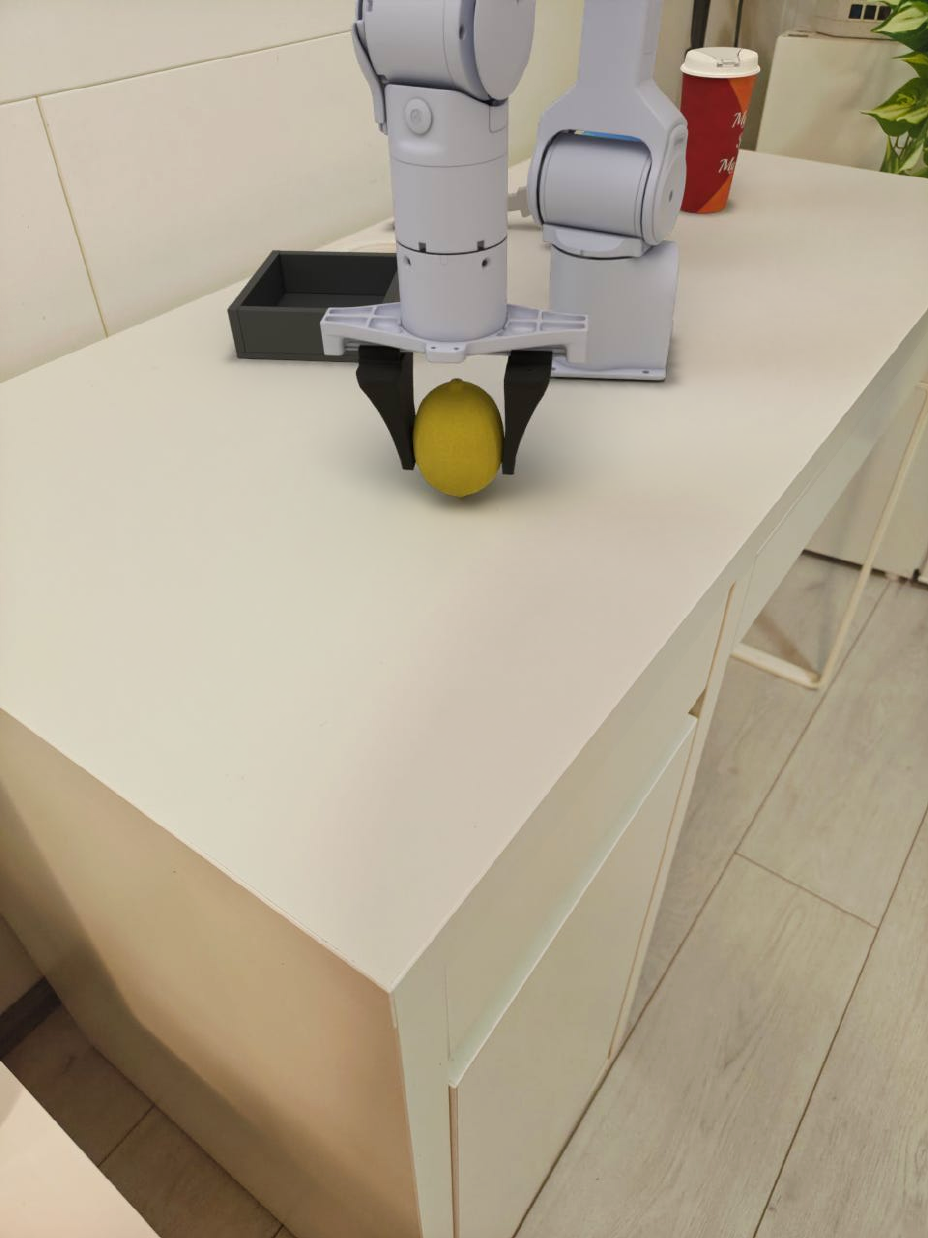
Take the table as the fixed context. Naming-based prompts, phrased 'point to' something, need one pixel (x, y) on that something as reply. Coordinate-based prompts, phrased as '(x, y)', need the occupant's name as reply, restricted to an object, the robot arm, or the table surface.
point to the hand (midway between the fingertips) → (458, 463)
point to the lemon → (458, 438)
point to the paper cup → (714, 121)
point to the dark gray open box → (307, 300)
